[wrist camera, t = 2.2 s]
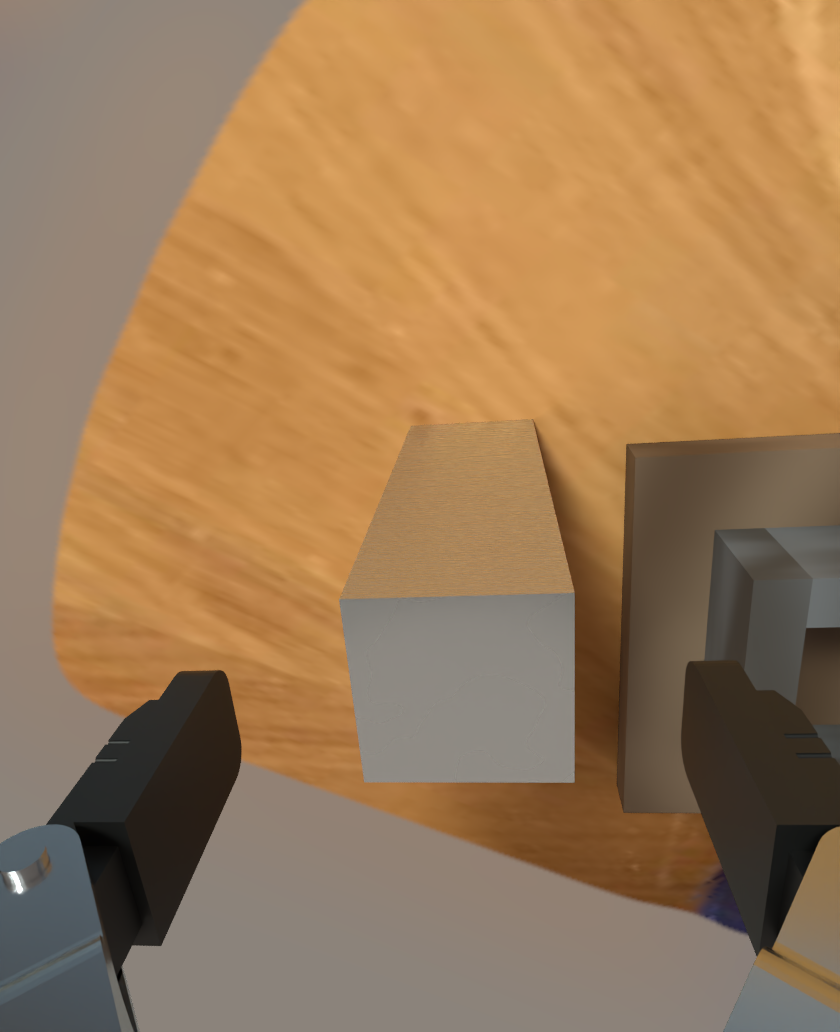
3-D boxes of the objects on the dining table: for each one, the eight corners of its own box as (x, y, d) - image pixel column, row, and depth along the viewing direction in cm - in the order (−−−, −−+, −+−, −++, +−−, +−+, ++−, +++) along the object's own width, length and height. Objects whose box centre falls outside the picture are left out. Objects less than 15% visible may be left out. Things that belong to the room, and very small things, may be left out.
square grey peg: (532, 419, 23) (574, 592, 12) (534, 532, 24) (574, 782, 13) (410, 426, 23) (339, 599, 12) (420, 536, 25) (364, 782, 14)
